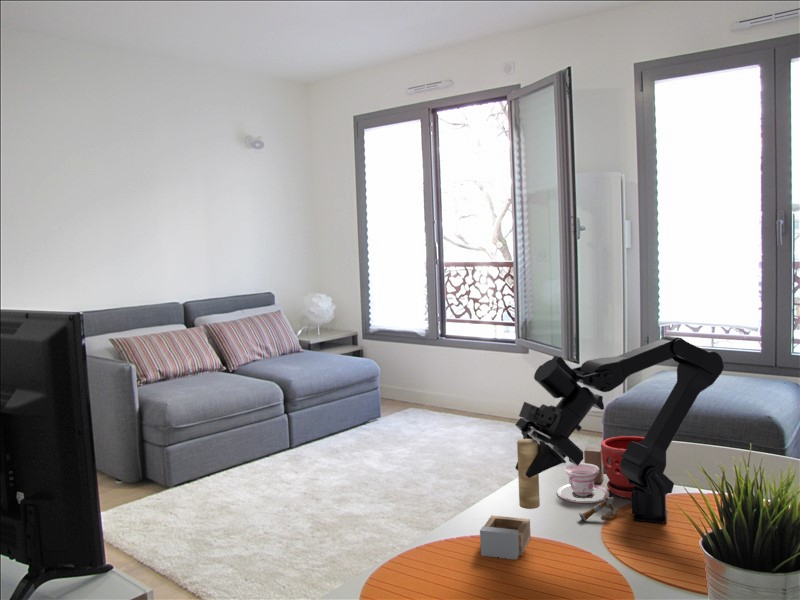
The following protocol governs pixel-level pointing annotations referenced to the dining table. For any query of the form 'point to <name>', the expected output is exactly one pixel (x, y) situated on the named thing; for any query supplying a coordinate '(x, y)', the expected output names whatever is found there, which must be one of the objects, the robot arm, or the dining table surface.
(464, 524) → the dining table surface
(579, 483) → the teacup
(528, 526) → the socket block
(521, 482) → the dowel
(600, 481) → the wooden block
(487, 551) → the wall
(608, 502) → the brown and silver rod
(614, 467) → the plant pot
